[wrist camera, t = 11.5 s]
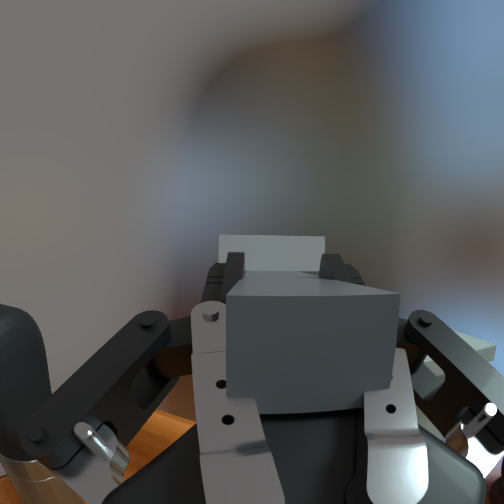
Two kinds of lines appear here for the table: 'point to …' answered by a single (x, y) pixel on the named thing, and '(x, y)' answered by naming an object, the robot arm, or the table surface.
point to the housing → (303, 329)
